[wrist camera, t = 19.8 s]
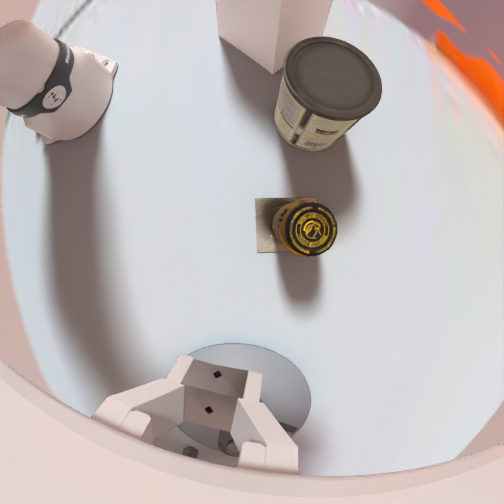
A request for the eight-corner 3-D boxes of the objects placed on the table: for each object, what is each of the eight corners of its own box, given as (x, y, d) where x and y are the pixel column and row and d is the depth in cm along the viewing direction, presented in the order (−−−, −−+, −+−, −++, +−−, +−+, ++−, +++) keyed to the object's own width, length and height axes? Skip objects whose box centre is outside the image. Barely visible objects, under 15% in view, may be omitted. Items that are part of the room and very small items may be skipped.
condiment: (317, 249, 38) (345, 263, 26) (257, 252, 38) (259, 267, 26) (316, 197, 37) (344, 188, 25) (255, 198, 37) (256, 189, 25)
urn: (231, 428, 39) (227, 470, 30) (207, 398, 39) (197, 440, 29) (271, 413, 39) (275, 456, 29) (249, 382, 38) (248, 425, 28)
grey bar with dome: (176, 447, 43) (165, 483, 32) (185, 442, 42) (175, 479, 32) (193, 458, 43) (185, 493, 33) (202, 453, 43) (195, 490, 33)
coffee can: (320, 80, 35) (347, 29, 21) (354, 137, 36) (399, 103, 22) (260, 102, 35) (264, 49, 21) (294, 163, 36) (317, 133, 22)
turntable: (216, 461, 42) (214, 482, 36) (137, 376, 39) (125, 395, 33) (331, 419, 40) (338, 439, 34) (266, 315, 38) (268, 331, 32)
